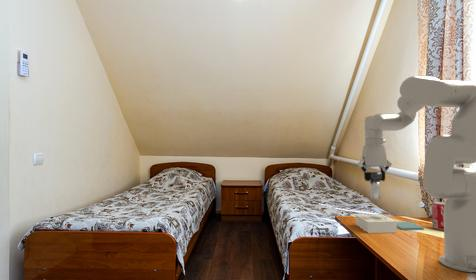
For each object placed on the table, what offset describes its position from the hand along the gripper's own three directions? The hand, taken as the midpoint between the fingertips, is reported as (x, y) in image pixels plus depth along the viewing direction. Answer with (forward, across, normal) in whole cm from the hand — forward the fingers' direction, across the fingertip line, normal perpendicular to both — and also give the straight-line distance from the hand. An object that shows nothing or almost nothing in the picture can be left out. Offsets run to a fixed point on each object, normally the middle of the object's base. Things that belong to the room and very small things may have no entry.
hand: (374, 180), depth 138 cm
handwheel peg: (+8, 0, 0) cm, 8 cm away
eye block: (+23, 0, 0) cm, 23 cm away
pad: (+23, -16, -2) cm, 28 cm away
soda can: (+23, -30, +2) cm, 38 cm away
